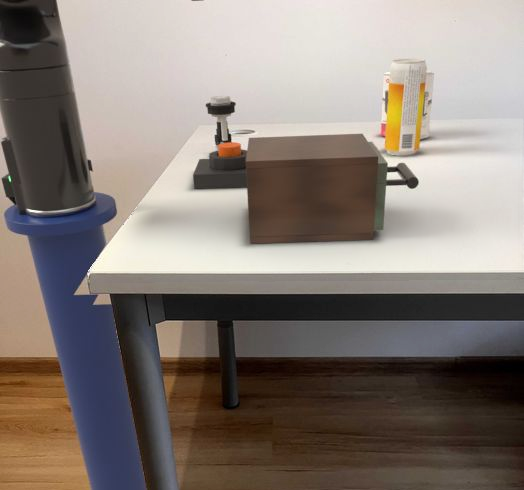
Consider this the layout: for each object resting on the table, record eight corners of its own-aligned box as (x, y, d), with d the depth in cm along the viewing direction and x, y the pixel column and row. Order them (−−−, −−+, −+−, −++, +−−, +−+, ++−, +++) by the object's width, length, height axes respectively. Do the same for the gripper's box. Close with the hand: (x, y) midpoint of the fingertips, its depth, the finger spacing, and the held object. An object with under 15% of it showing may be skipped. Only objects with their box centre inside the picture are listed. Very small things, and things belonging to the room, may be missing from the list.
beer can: (410, 147, 110) (418, 57, 102) (424, 154, 105) (434, 60, 97) (379, 150, 109) (384, 59, 101) (392, 157, 104) (399, 62, 96)
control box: (194, 189, 91) (191, 162, 89) (200, 172, 100) (198, 147, 98) (265, 186, 91) (264, 159, 89) (265, 170, 100) (264, 145, 98)
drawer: (400, 200, 80) (405, 140, 76) (418, 229, 70) (425, 161, 66) (268, 204, 80) (266, 145, 76) (269, 234, 70) (266, 167, 66)
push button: (243, 158, 107) (240, 99, 102) (215, 161, 106) (210, 101, 101) (234, 151, 113) (231, 94, 107) (207, 154, 111) (202, 96, 106)
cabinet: (359, 207, 81) (362, 133, 76) (373, 239, 70) (378, 156, 65) (252, 210, 81) (248, 137, 76) (249, 243, 70) (245, 161, 65)
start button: (217, 159, 92) (217, 147, 91) (219, 154, 95) (218, 142, 94) (240, 158, 92) (240, 146, 91) (241, 153, 95) (241, 141, 94)
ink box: (378, 136, 119) (382, 71, 113) (393, 132, 122) (398, 68, 116) (414, 142, 114) (420, 74, 107) (429, 137, 116) (436, 71, 110)
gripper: (159, -167, 71) (175, 1, 80) (139, -197, 60) (160, 2, 69) (222, -170, 71) (231, -1, 80) (213, -201, 59) (225, -1, 68)
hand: (198, 0), depth 74 cm, fingers closed
